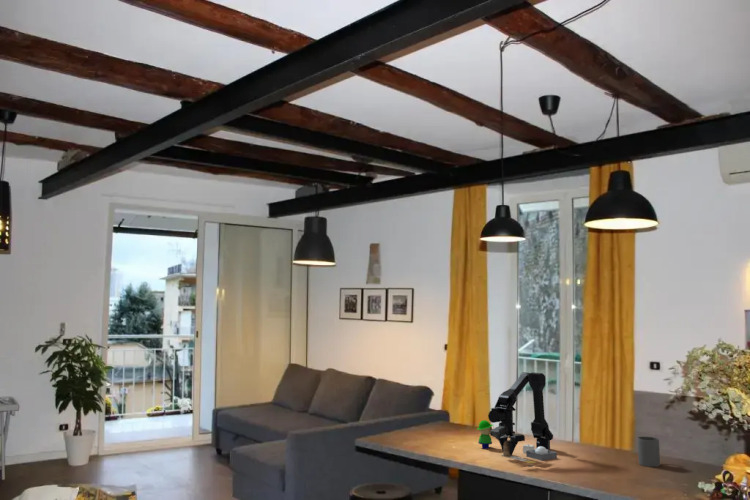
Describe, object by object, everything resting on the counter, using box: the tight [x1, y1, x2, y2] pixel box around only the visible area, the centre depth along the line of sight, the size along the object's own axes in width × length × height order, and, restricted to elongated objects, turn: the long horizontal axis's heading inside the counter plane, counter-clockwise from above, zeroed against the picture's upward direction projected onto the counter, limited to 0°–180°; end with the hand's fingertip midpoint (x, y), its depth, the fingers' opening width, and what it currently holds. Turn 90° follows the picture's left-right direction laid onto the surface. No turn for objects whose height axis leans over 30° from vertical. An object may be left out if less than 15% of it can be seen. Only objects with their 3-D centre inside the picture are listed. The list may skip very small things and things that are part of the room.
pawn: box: [502, 441, 513, 457], centre depth 304 cm, size 4×4×7 cm
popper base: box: [525, 449, 558, 462], centre depth 301 cm, size 10×10×3 cm
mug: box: [637, 436, 661, 468], centre depth 293 cm, size 14×9×12 cm
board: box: [501, 454, 537, 468], centre depth 301 cm, size 20×22×1 cm
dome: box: [534, 446, 548, 454], centre depth 301 cm, size 6×6×5 cm
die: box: [522, 443, 535, 455], centre depth 310 cm, size 4×4×4 cm
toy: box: [476, 420, 495, 450], centre depth 323 cm, size 9×9×15 cm
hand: (507, 453), depth 304 cm, fingers open, 5 cm apart
